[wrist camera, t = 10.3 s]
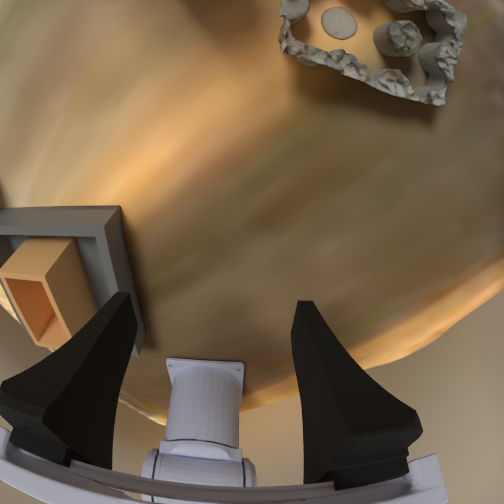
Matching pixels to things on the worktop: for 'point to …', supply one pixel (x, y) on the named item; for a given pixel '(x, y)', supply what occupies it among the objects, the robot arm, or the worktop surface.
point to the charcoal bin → (89, 244)
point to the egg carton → (386, 46)
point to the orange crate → (49, 288)
